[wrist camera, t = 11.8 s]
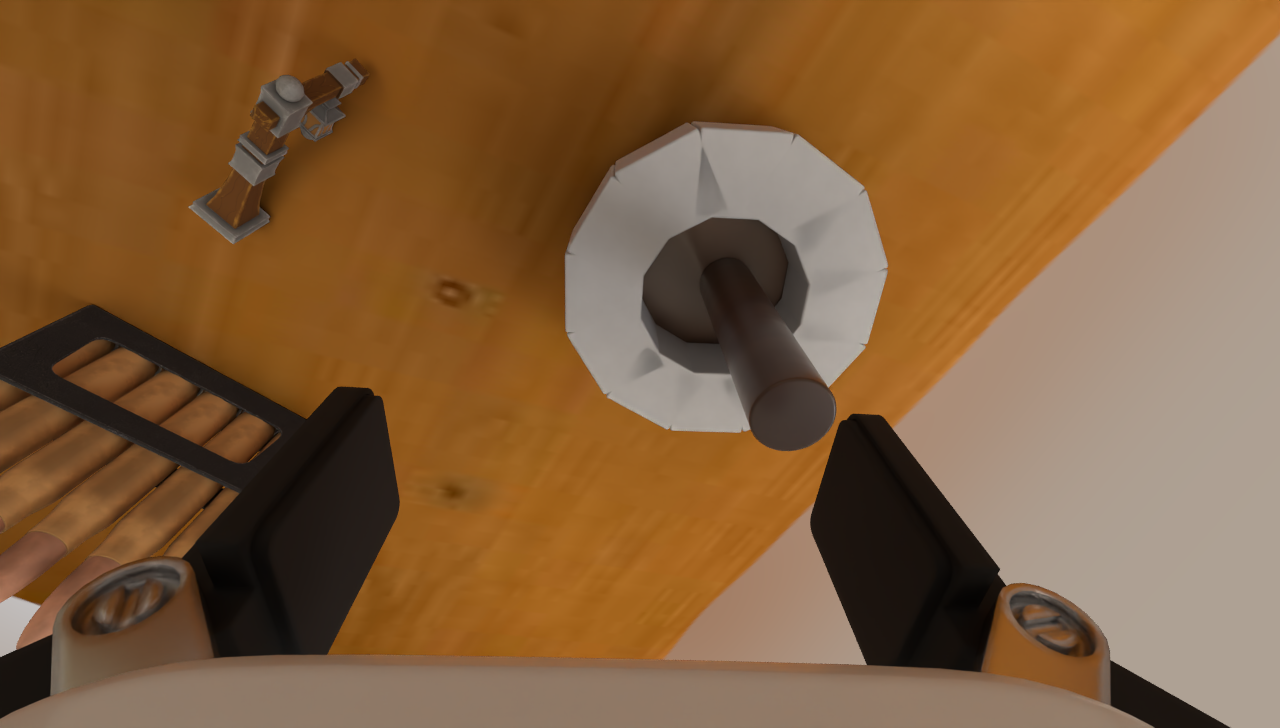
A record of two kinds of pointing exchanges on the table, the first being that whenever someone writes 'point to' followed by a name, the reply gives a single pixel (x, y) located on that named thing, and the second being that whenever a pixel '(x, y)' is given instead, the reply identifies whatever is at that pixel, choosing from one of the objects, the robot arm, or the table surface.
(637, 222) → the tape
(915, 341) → the table surface
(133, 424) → the ammunition clip
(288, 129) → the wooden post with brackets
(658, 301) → the stand
